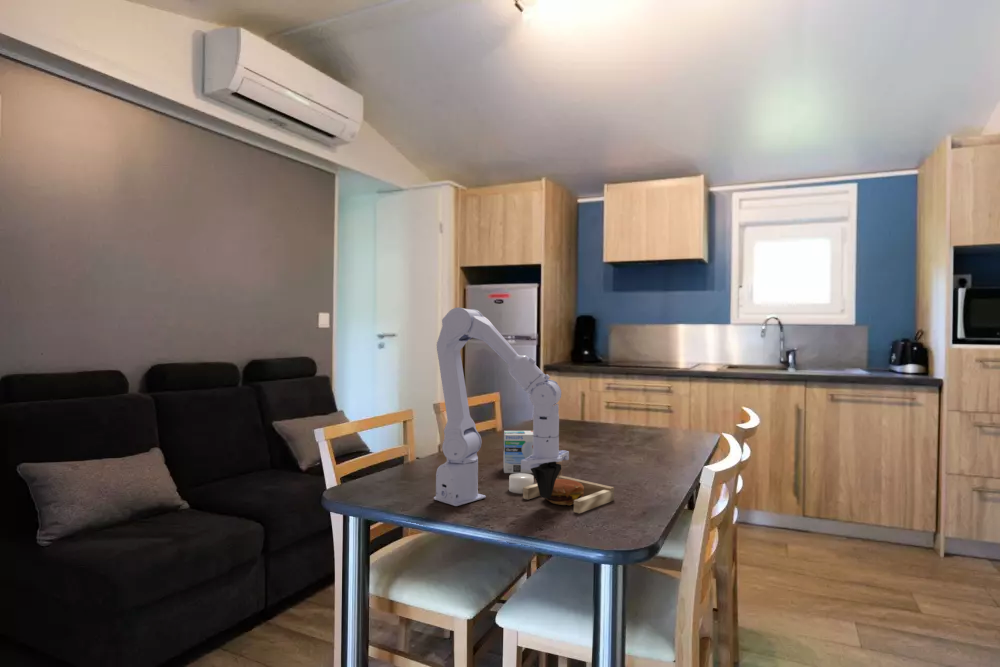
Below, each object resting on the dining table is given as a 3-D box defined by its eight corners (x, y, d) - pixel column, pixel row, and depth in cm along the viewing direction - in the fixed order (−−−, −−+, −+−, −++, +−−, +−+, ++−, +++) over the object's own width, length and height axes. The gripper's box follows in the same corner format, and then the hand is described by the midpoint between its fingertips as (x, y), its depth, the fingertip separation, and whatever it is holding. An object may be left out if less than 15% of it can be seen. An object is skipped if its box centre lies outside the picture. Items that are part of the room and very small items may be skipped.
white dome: (522, 495, 134) (522, 480, 134) (504, 490, 138) (504, 476, 138) (538, 490, 138) (538, 476, 138) (520, 485, 143) (520, 472, 143)
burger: (553, 493, 136) (553, 473, 136) (590, 498, 132) (590, 478, 132) (536, 504, 128) (536, 483, 128) (575, 510, 123) (575, 489, 123)
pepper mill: (555, 488, 140) (555, 460, 140) (542, 485, 143) (542, 457, 143) (565, 485, 143) (565, 457, 143) (552, 482, 146) (552, 455, 146)
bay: (579, 513, 120) (579, 499, 120) (523, 498, 131) (523, 485, 131) (614, 500, 130) (614, 487, 130) (558, 487, 141) (559, 475, 141)
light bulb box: (503, 473, 155) (503, 434, 155) (502, 468, 161) (502, 430, 161) (542, 473, 155) (542, 434, 155) (540, 467, 162) (540, 430, 162)
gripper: (539, 442, 117) (538, 508, 117) (580, 433, 127) (579, 494, 127) (513, 438, 122) (513, 501, 122) (555, 430, 132) (555, 488, 132)
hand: (545, 497), depth 125 cm, fingers closed
